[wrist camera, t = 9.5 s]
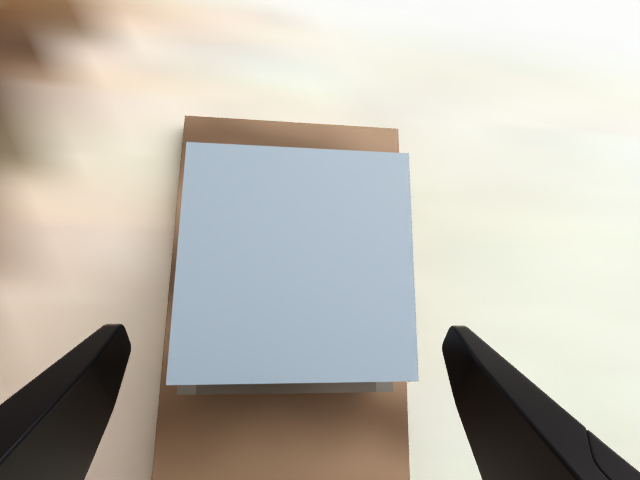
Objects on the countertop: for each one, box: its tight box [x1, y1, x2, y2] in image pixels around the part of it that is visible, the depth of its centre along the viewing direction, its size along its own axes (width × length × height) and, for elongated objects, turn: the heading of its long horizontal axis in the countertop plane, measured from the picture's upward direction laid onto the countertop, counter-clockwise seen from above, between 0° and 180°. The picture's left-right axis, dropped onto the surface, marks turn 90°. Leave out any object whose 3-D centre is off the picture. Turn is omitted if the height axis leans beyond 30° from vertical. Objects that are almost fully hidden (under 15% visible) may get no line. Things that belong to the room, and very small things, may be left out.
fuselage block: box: [166, 142, 418, 385], centre depth 13 cm, size 5×5×12 cm
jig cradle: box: [152, 116, 410, 480], centre depth 18 cm, size 20×13×4 cm, turn 179°
